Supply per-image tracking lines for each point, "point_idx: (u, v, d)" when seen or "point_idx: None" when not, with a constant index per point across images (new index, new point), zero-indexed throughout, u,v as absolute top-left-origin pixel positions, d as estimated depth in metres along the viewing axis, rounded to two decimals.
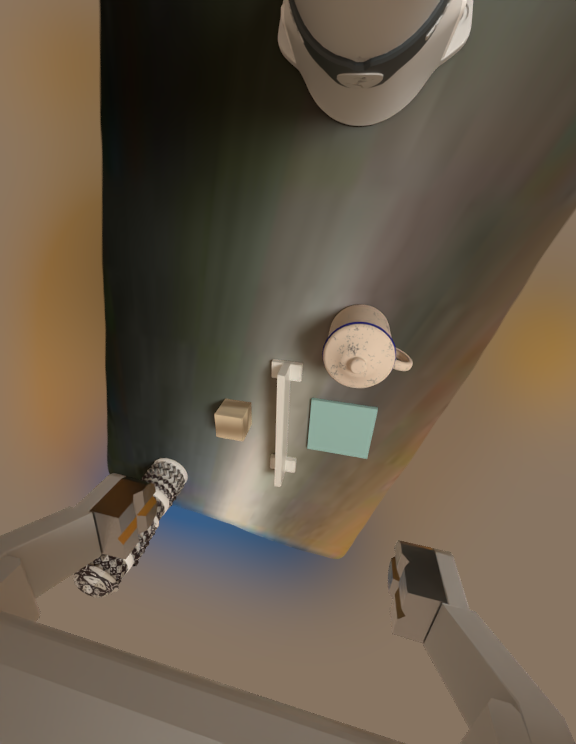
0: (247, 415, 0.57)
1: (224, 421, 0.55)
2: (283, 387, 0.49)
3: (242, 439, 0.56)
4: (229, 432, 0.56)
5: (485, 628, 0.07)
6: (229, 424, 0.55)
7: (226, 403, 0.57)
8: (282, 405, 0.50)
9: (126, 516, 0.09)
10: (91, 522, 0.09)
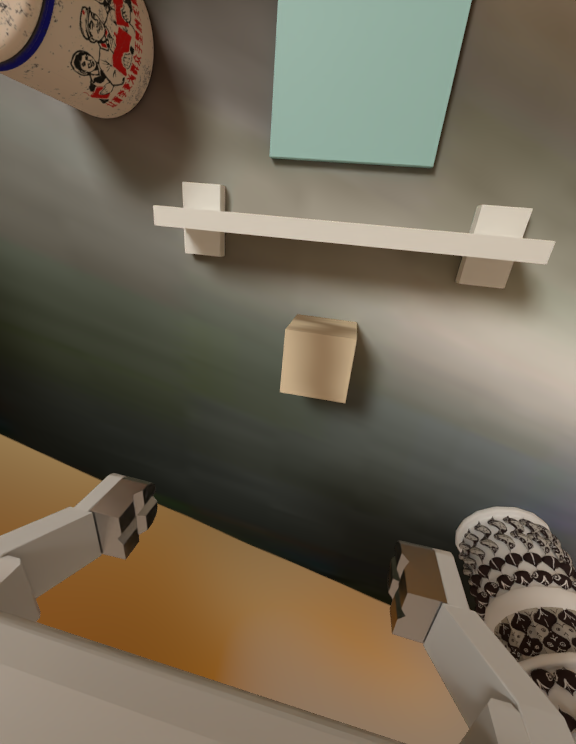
0: (309, 322, 0.25)
1: (298, 374, 0.23)
2: (182, 210, 0.21)
3: (351, 340, 0.22)
4: (329, 369, 0.23)
5: (485, 629, 0.07)
6: (304, 364, 0.23)
7: None
8: (231, 216, 0.20)
9: (126, 516, 0.09)
10: (91, 522, 0.09)
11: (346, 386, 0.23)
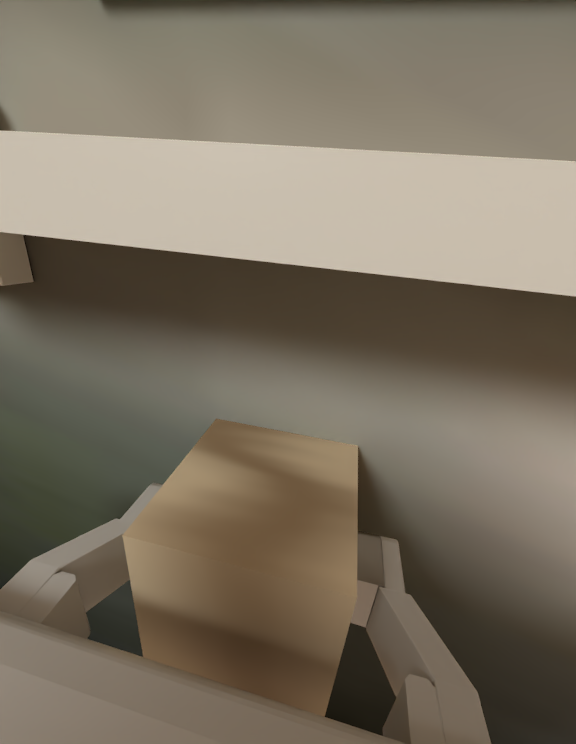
0: (230, 463, 0.09)
1: (184, 640, 0.08)
2: None
3: (338, 593, 0.06)
4: (272, 648, 0.07)
5: (418, 610, 0.08)
6: (195, 622, 0.07)
7: None
8: None
9: None
10: None
11: (325, 692, 0.07)
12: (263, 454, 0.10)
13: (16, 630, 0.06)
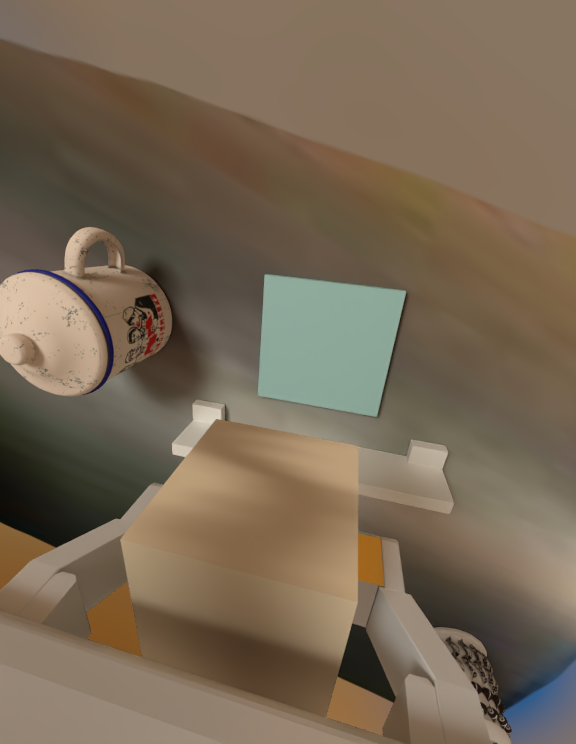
0: (230, 465, 0.09)
1: (183, 644, 0.08)
2: None
3: (338, 598, 0.06)
4: (271, 652, 0.07)
5: (418, 610, 0.08)
6: (195, 626, 0.07)
7: None
8: None
9: None
10: None
11: (325, 696, 0.07)
12: (263, 456, 0.10)
13: (16, 630, 0.06)
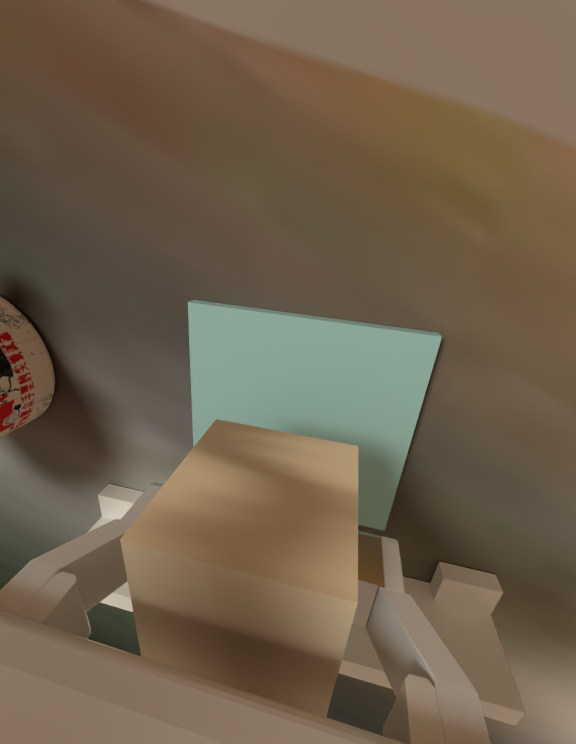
0: (229, 465, 0.09)
1: (184, 644, 0.08)
2: None
3: (338, 598, 0.06)
4: (271, 652, 0.07)
5: (418, 610, 0.08)
6: (194, 626, 0.07)
7: None
8: None
9: None
10: None
11: (325, 697, 0.07)
12: (263, 456, 0.10)
13: (16, 630, 0.06)
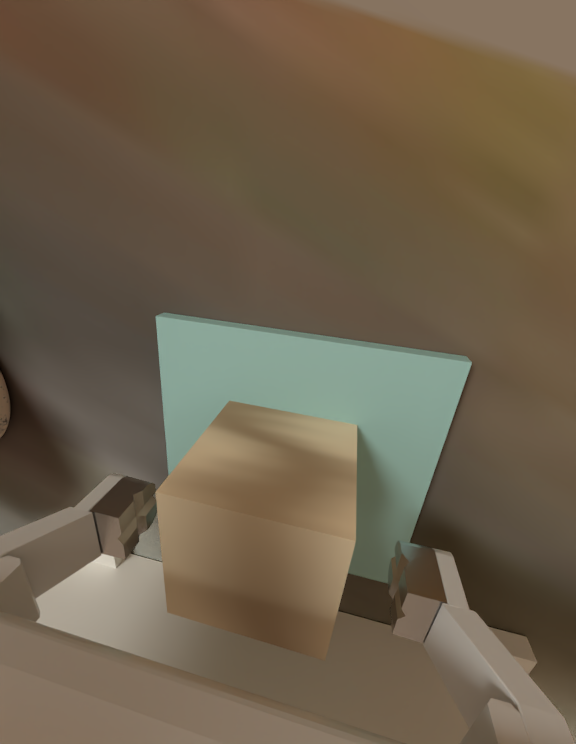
0: (243, 437, 0.10)
1: (204, 588, 0.09)
2: None
3: (340, 539, 0.07)
4: (282, 592, 0.08)
5: (485, 628, 0.07)
6: (215, 571, 0.09)
7: None
8: None
9: (126, 516, 0.09)
10: (91, 522, 0.09)
11: (327, 631, 0.09)
12: (272, 431, 0.11)
13: (16, 630, 0.06)
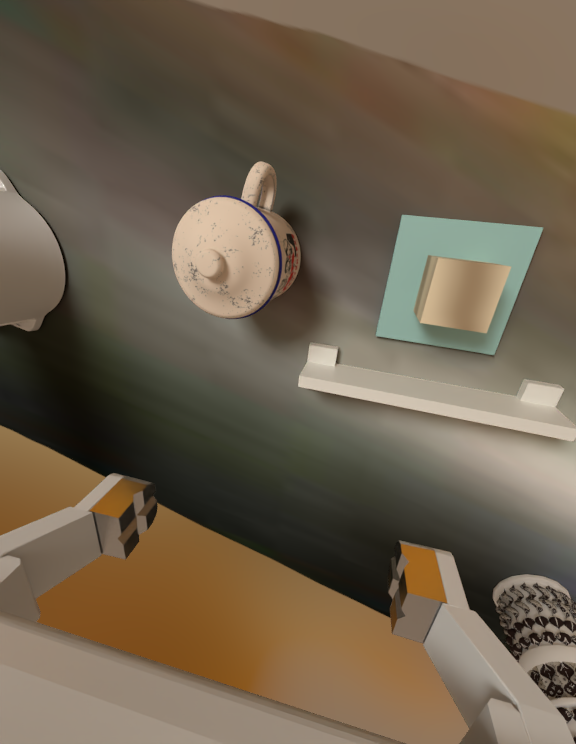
0: (449, 258, 0.26)
1: (443, 304, 0.25)
2: (320, 381, 0.30)
3: (505, 268, 0.23)
4: (477, 298, 0.24)
5: (485, 628, 0.07)
6: (451, 293, 0.24)
7: (417, 305, 0.28)
8: (355, 388, 0.30)
9: (126, 516, 0.09)
10: (91, 522, 0.09)
11: (491, 315, 0.24)
12: None
13: (16, 630, 0.06)
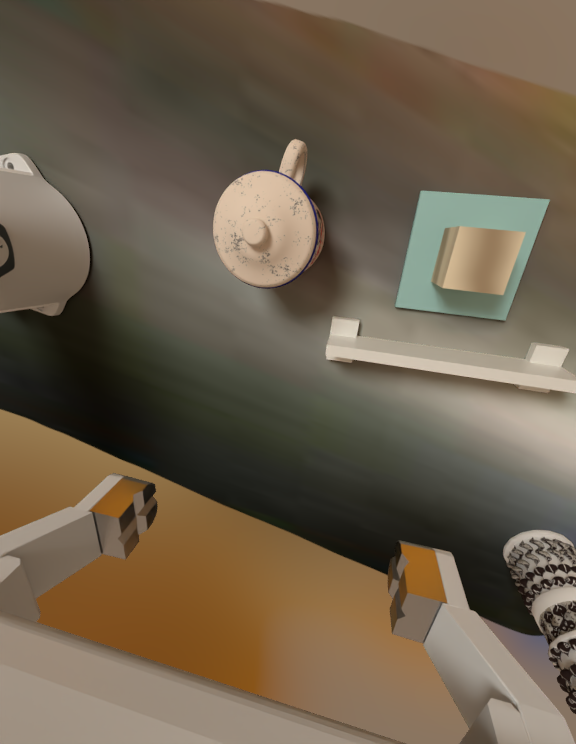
0: None
1: (463, 269, 0.27)
2: (346, 349, 0.33)
3: (520, 233, 0.25)
4: (494, 262, 0.27)
5: (485, 628, 0.07)
6: (471, 258, 0.27)
7: (436, 274, 0.31)
8: (380, 354, 0.32)
9: (126, 516, 0.09)
10: (91, 522, 0.09)
11: (507, 278, 0.27)
12: None
13: (16, 630, 0.06)
